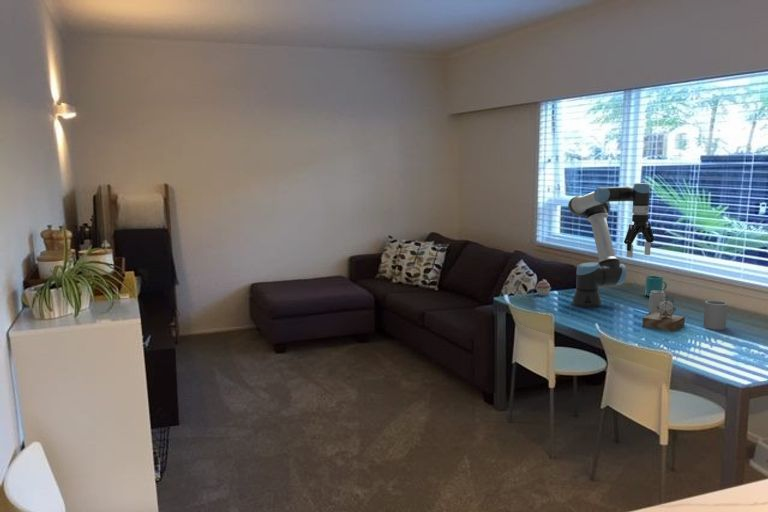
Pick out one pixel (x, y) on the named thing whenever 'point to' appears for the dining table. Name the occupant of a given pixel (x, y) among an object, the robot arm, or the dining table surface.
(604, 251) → the robot arm
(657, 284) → the cup
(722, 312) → the cup
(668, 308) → the game die
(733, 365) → the dining table surface
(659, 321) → the walnut block
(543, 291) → the cupcake
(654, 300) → the can
